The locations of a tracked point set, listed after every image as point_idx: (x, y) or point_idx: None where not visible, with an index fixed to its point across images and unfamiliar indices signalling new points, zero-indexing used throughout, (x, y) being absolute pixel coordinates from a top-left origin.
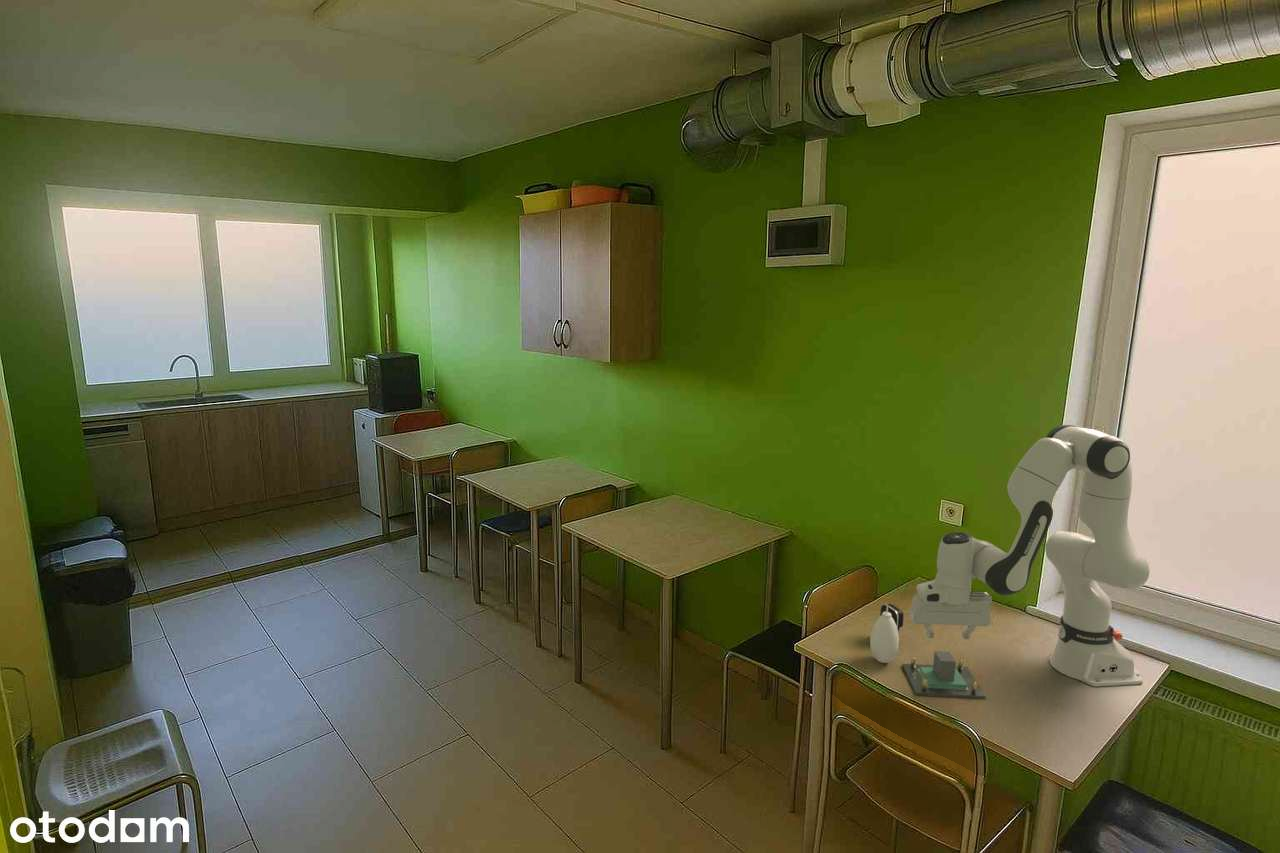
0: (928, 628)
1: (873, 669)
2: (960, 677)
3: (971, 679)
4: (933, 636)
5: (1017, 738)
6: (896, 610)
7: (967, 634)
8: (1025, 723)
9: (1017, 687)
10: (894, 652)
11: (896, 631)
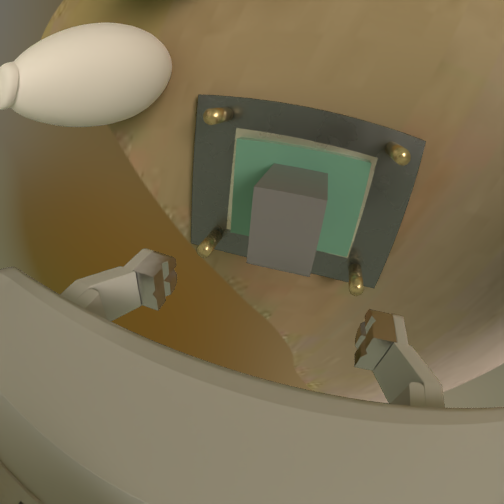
0: (109, 320)
1: (122, 120)
2: (351, 217)
3: (393, 210)
4: (169, 292)
5: (338, 376)
6: None
7: (371, 367)
8: None
9: (484, 254)
10: (139, 111)
11: (84, 100)
